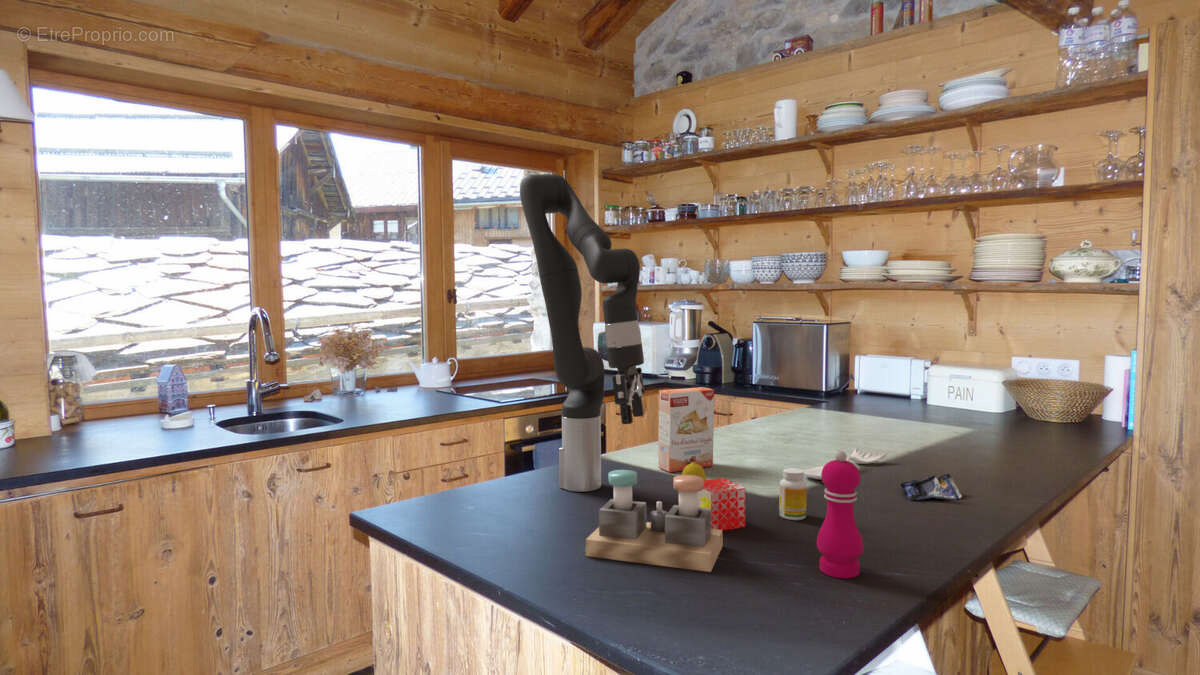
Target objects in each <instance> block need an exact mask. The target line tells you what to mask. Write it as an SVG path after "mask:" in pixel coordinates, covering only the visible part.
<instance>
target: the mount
mask: <svg viewBox="0 0 1200 675" xmlns="http://www.w3.org/2000/svg"><path fill="white" fill-rule="evenodd" d="M667 512H668V513H667V515H666V516H665V532H654V531H652V530H651V521H650V522H649V521H647V502H646V501H635V500H632V511H626V510H616V509H614V498H610V500H608V501H606V503H605V504H604V505H603V506H602V507H600V509H599V510H598V527H597V528H596V529H595V530H594V531H593V532H591V533H590V535H588V536H587V538H585V557H591V558H597V559H606V560H614V561H621V562H630V563H639V564H644V565H645V564H646V565H652V566H654V565H655V566H661V567H667V568H668V567H669V568H676V569H677V568H679V569H684V570H692V571H693V570H694V571H700V572H707V573H708V572H709V573H711V572H712V570H713V568H714V566H715V564H716V562H717V559H718V557H719V555H720V553H721V551H722V549H723V544H724V543H723V535H724V534H723V530H717V529H711V509H709V508H699V507H698V518H695V517H685V516H679V504H674V505H673V506H671V508H670V509H669V511H667Z"/></svg>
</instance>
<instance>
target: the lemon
mask: <svg viewBox="0 0 1200 675" xmlns="http://www.w3.org/2000/svg"><path fill="white" fill-rule="evenodd" d="M681 475H695V476H699V477H702V478H703V481H704V480H707V477H706V476H707V475H706V472H705V470H704V468H702V467H701V466H700V465H698V464H696V463H695V462H692V463H691V464H689V465H687V466H686V467H685V468H684V469H683V471H681Z"/></svg>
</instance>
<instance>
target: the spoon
mask: <svg viewBox="0 0 1200 675" xmlns="http://www.w3.org/2000/svg"><path fill="white" fill-rule="evenodd" d="M887 456H888V452H884V453H879V454H878V453H875V454H872V453H871V452H870V453H868V454H867V451H864V452H863V449H860V450H859V447H856V448H854V450H853V452H852V454H851V455H849V456H847V458H846V460H845V461H849V462H854V463H856V464H858V465H859V464H860V465H868V464H872V463H875V462H877V461H879V460H882V459H884V458H886V457H887ZM824 466H825V465H822V466H816V467H812V468H808V469H802V470H803V472H804V476H806V477H808V478H811V479H815V480H818V481H822V477H821V474H822V470H823V467H824Z"/></svg>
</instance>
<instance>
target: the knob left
mask: <svg viewBox="0 0 1200 675" xmlns="http://www.w3.org/2000/svg"><path fill="white" fill-rule="evenodd" d="M607 474H608V484H609V485H610V486H611V485H612V486H613V492H612V493H613V499H614V509H616V510H626V511H632V501H633V486H635V485H637V484H638V472H637V471H635V470H630V469H615V470H611V471H609V472H608V473H607Z"/></svg>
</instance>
